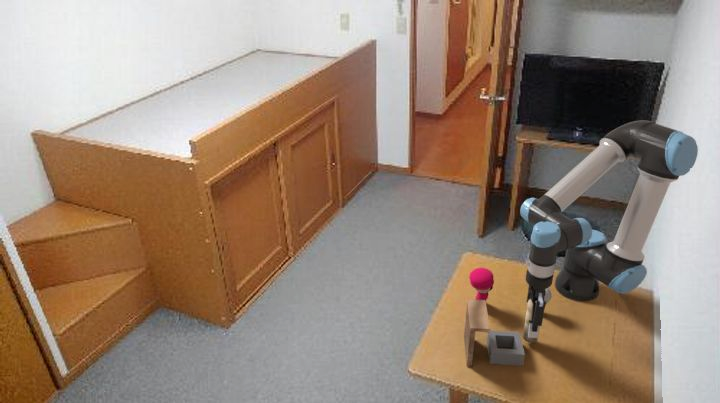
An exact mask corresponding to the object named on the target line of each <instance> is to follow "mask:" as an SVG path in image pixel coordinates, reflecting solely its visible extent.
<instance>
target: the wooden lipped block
mask: <svg viewBox="0 0 720 403" xmlns="http://www.w3.org/2000/svg"><path fill="white" fill-rule="evenodd" d="M488 315H489V314H488V307H487V300H486V301H485V300H475V299H470V298H469V299H467V301H466V313H465V322H464V333H463V339H464V340H463V342H464V351H465V362H466V367H472V366H473V358H474V348H475V347H474V346H475V339H476V333H477V332H480V333H488V332H489V331H491V330H490V329H491V328H490V321H489V316H488Z"/></svg>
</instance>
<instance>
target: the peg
mask: <svg viewBox="0 0 720 403" xmlns="http://www.w3.org/2000/svg"><path fill="white" fill-rule="evenodd" d="M532 306H533V303H532V301H531V299H530V300H528V303H527V306H526V314H525V321H524V324H523V325H524V327H523V333H522V334H523V335H522V338H523V340H524V341H525V342H528V343H530V344H532V343H535V342H537V341H538V338H539V335H538V336H537V338H528V331H529V325H530V323H529V320H531V318H532ZM539 330H540V329H539ZM539 330H538V333H539Z"/></svg>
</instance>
